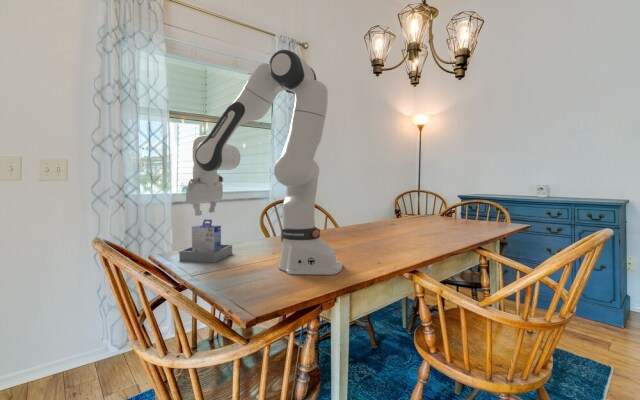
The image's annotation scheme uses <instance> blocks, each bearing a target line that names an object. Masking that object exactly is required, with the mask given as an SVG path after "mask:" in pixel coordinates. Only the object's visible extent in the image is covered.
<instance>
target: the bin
mask: <svg viewBox="0 0 640 400" xmlns="http://www.w3.org/2000/svg"><path fill="white" fill-rule="evenodd" d="M178 252H179V253H178V254H179V261H185V262H186V261H187V262H198V263H200V262H201V263H210V264H211V263H212V264H214V263H216V262H219V261H220V260H222V259H224V258H226V257H228V256H230V255H232V254H233V244H222V243H221V250H218V251H216V252H214V253H208V252H192V246H189V247H187V248H184V249H181V250H179V251H178Z"/></svg>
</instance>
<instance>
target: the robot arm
mask: <svg viewBox="0 0 640 400" xmlns="http://www.w3.org/2000/svg"><path fill="white" fill-rule="evenodd" d="M282 91H285V92H286V93H288V94H293V95H294V96H295V97H294V106H293V111H292V117H291V121H290V126H289V132H288V135H287V139H286V141H285V143H284V145H283V149H282V151H281V155H280V157H279V159H277V161H276V162H275V165H274V169H273V174H274V177H275V179H276V180H277V182H279V183H280V185H283V186H284V187H286V192H285V197H284V200H283V203H282V226H281V229H280V240H281V251H280V257H279V262H278V266H277V268H278V269H279V270H281V271H284V272H286V274H288V275H315V276H316V275H317V276H318V275H323V276H324V275H327V276H328V275H330V276H331V275H332V276H333V275H336V274H338V273H340V272H341V271H342V269H343V263H342V262H341V261H339V260H337V256H336V251H335V249H334V248H333V247H332V246H331V245H330V244H328V243H327V242H326V241H325V240H323V238H321V228H318V227H316V226H315V208H316V207H315V204H316V196H317V189H318V188H317V187H318V183H319V182H318V181H319V176H320V166H319V165H318V163H317V161H315V159H314V158H315V156H316V152H317V150H318V147H319V145H320V143H321V141H322V137H323V131H324V126H325V122H326V117H327V111H328V101H329V100H328V97H329V94H328V93H329V91H328V88H327V86H326V85H325V84H324V83H323V82H321V80H320V81H319V80H317V75H316V73H315V71H314V69H313V68H312V67H311V66H309V64H308V63H307V61H306V60H305V59H303V58H302V57H301V56H299V55H298V54H297V53H295V52H294V51H292V50H288V49H280V50H278V51H276V52H275V53H274V54H273V55H271V57H270V59H269V63H261V64H259V65H258V66H257V68H255V70H254V71H253V72H252V74H251V75H250V77H249V78H248V79H247V81H246V83H245V85H244V87H243V88H242V90H241V92H240V93H239V95H237V98H236V99H235V100H234V101H233V102H232V103H231V104H230V105H229V106H227V108H226V110H225V111H224V112H223V113H222V115H221V116H220V118H219V119H218V120H217V122H216V124H214V127H213V128H212V129H211V131H210V132H209V134H200V135H198V136H196V137H195V138H194V140H193V144H192V160H193V166H192V167H193V168H192V178H191V179H190V180H189V181H188V184H187V186H186V191H185V202H186V204H188V205H192V207H193V209H194V212H195V214H194V215H195V216H197V217H198V216H199V217H200V216H202V215H203V214H202V210H201V209H200V207H201V204H205V203H209V204H210V206H209V208H208V213H211V214H212V213H215V211H216V210H215V208H216V207H217V201H218V202H219V201H221V200H222V198H223V193H224V192H223V187H224V185H223V182H224V177H223V176H221V175H220V174H219V173H218V171H231V170H233V169H236V168H237V167H238V166H239V164H240V162H241V153H240V151H239V149H238V147H236V146H234V145H232V144H229V143H228V142H229V140H230V139H231V137H232V136H233V134H234V133H235V131H237V129H238V128H239V127H240V126H242V125H244V124H246V123H249V122H253V121H254V122H255V121H258V120H260V119H262V118H264V116H265V115H266V114H267V113H268V111H269V110H270V108H271V107H272V105H273V103H274V102H275V99H276V98H277V96H278V94H280V93H281V92H282Z"/></svg>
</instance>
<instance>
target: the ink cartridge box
mask: <svg viewBox="0 0 640 400" xmlns="http://www.w3.org/2000/svg"><path fill="white" fill-rule="evenodd" d="M208 222H209V223H208ZM212 223H213V219H205V218H204V219H203V222H202V224H198V225H194V226H191V247H192V252H208V253H214V252H216V251H218V250H221V244H222V240H221V239H222V235H221V233H222V231H221V229H222V225H214V224H213V225H212Z"/></svg>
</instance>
